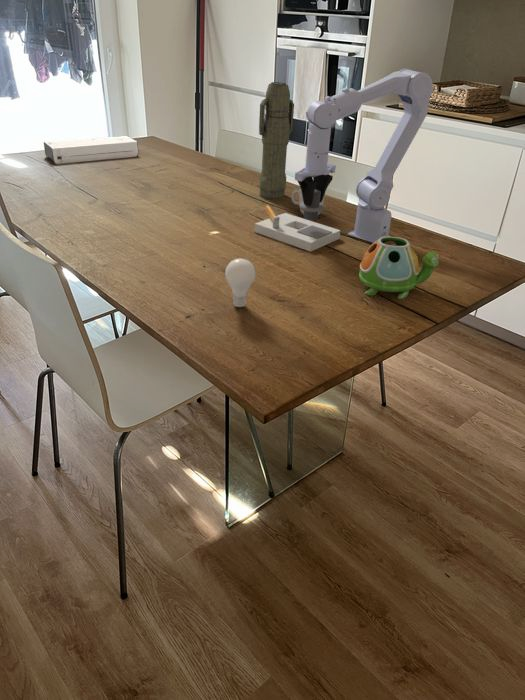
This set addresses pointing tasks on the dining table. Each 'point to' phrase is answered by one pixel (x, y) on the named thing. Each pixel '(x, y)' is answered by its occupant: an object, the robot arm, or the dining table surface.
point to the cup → (301, 199)
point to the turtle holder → (394, 267)
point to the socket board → (298, 232)
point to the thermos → (275, 139)
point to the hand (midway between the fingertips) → (312, 203)
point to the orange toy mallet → (273, 217)
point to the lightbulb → (240, 279)
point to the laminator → (91, 149)
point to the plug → (312, 207)
